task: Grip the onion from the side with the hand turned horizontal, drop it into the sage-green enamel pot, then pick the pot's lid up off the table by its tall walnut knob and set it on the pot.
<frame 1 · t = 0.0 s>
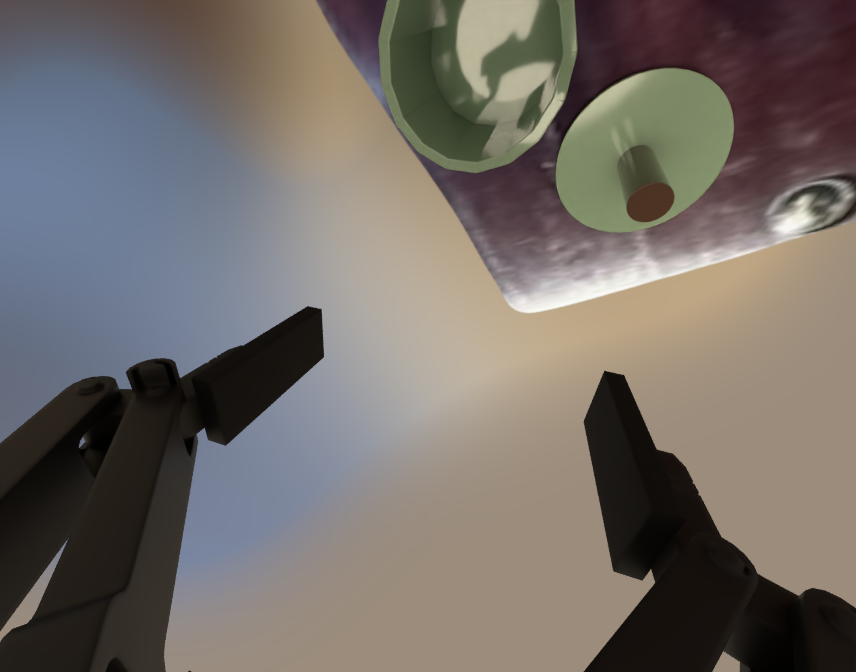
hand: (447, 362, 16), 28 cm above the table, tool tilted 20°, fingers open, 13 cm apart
pot: (495, 49, 29), on the table
lid: (634, 160, 31), point 1 cm above the table
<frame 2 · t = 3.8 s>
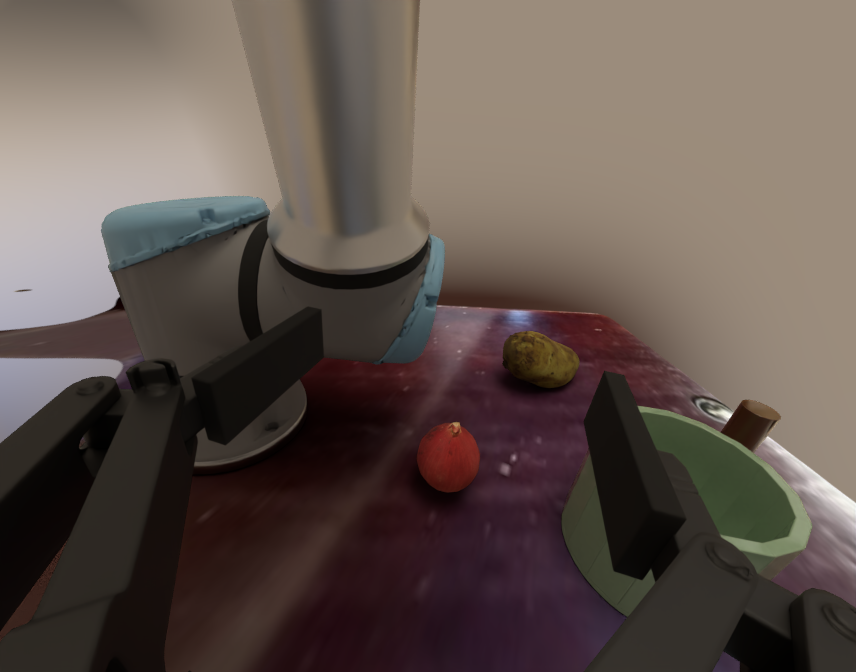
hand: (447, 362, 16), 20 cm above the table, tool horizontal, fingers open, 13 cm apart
pot: (635, 547, 30), on the table
potato: (536, 382, 51), on the table
onion: (443, 485, 33), on the table
lid: (714, 473, 37), point 1 cm above the table
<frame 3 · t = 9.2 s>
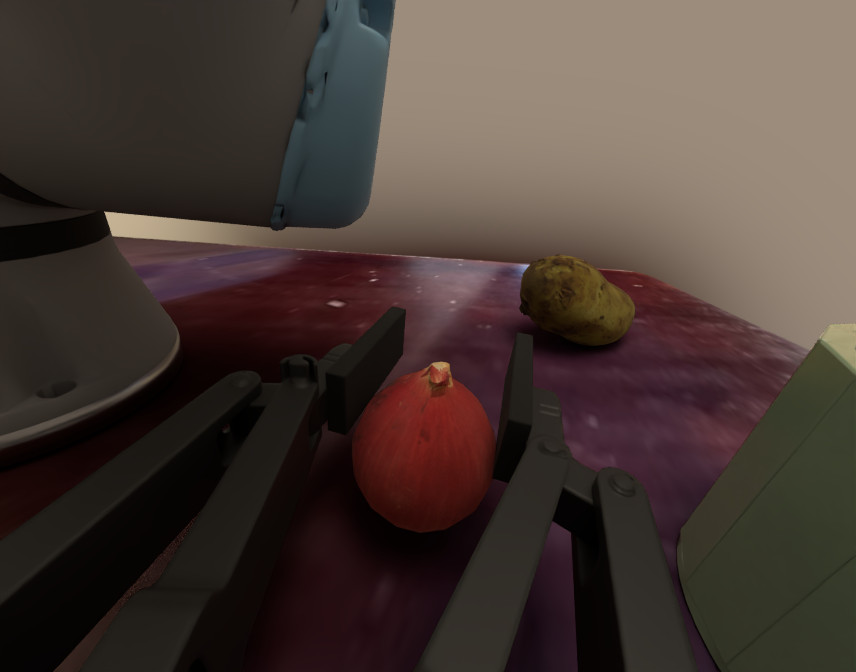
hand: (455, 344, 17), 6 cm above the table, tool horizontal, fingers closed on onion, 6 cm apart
potato: (570, 339, 33), on the table
onion: (415, 509, 16), on the table, touching gripper
when the fingers open (15 cm above the table, at t = 15.9 s): onion drops 8 cm, resting on pot.
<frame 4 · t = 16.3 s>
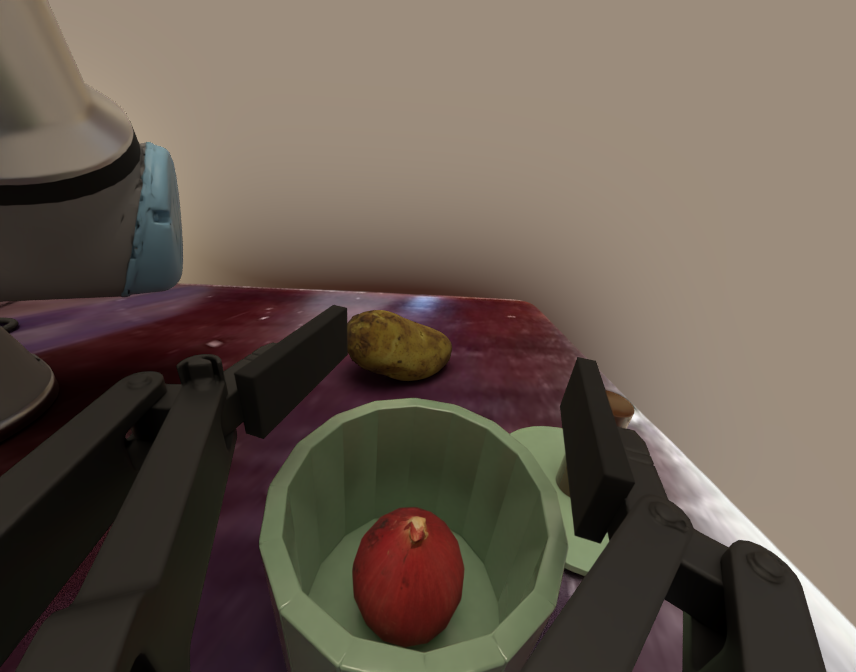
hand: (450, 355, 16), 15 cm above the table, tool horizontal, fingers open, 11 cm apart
pot: (403, 608, 20), on the table
potato: (398, 374, 41), on the table
onion: (403, 608, 20), resting on pot
lid: (572, 489, 28), point 1 cm above the table
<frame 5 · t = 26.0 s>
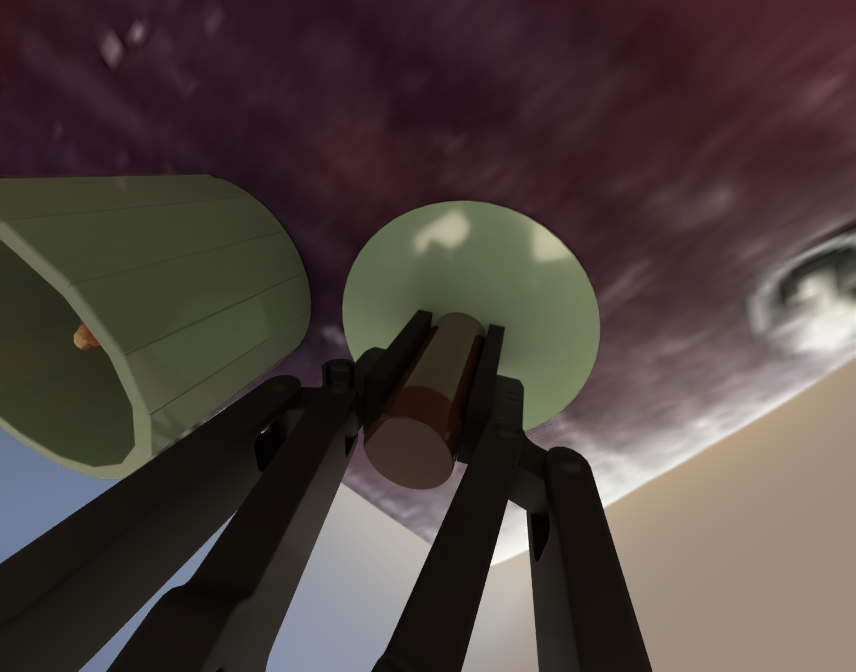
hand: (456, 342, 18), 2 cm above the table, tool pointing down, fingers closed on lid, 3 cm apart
pot: (225, 280, 22), on the table
onion: (221, 283, 22), resting on pot
lid: (460, 333, 19), point 1 cm above the table, touching gripper
when the fingers open (11 cm above the table, at t = 31.5 s): lid stays where it is, resting on pot.
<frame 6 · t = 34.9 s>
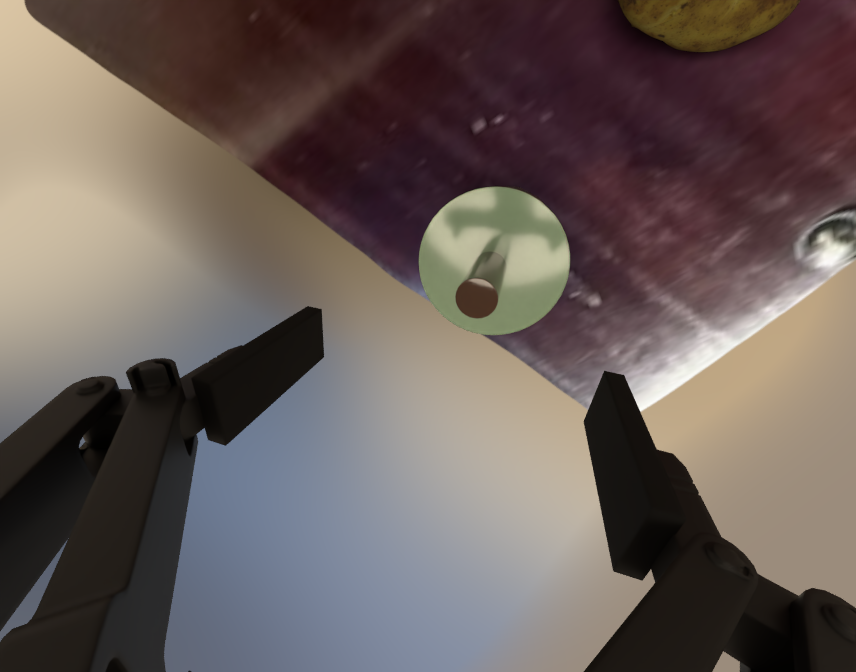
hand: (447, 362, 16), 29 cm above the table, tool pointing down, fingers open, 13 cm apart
potato: (685, 5, 28), on the table
lid: (490, 266, 32), point 10 cm above the table, touching pot
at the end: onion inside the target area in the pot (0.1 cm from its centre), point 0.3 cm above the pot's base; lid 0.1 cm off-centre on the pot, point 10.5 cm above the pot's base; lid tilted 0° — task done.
